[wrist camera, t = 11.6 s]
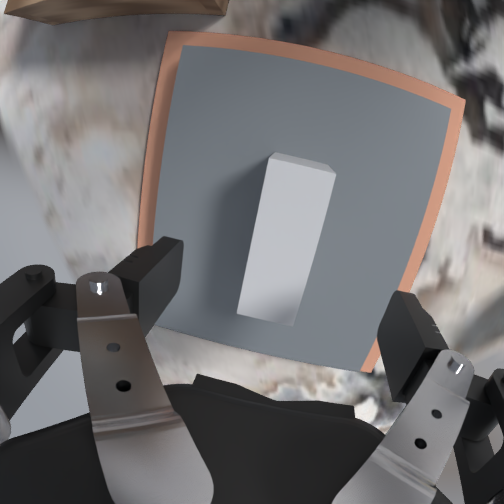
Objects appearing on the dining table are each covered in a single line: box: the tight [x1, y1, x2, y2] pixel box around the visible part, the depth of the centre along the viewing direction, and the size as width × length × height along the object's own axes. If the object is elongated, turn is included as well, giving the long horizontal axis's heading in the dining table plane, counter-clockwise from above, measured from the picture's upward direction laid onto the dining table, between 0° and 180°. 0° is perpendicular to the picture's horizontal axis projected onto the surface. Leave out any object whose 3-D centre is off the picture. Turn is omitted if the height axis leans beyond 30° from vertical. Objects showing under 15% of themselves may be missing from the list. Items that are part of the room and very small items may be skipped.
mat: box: [137, 31, 466, 373], centre depth 21 cm, size 20×22×1 cm
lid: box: [153, 45, 451, 372], centre depth 18 cm, size 16×19×6 cm
